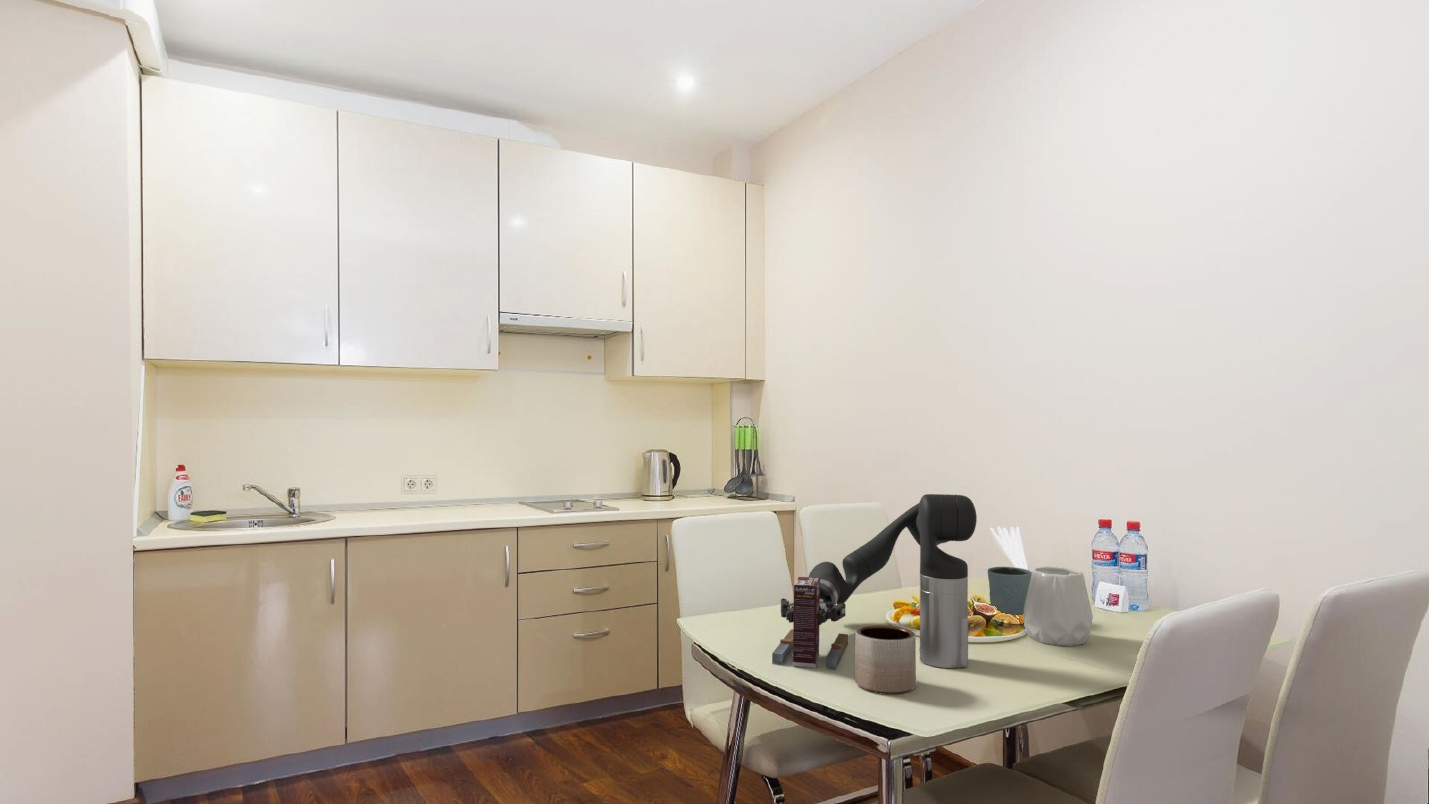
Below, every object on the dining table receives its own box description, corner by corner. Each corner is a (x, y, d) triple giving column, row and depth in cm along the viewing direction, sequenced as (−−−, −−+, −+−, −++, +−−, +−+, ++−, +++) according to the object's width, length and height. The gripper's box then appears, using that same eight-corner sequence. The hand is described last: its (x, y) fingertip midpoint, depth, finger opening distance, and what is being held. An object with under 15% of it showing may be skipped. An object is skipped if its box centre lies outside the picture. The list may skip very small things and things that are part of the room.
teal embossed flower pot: (1026, 616, 197) (1026, 567, 198) (1036, 626, 187) (1036, 575, 188) (983, 614, 199) (984, 566, 199) (992, 624, 189) (992, 573, 189)
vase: (1094, 636, 179) (1093, 568, 180) (1091, 652, 167) (1091, 579, 167) (1027, 628, 186) (1027, 563, 186) (1020, 643, 173) (1020, 573, 174)
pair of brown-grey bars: (848, 643, 172) (848, 631, 172) (835, 669, 153) (835, 656, 153) (790, 638, 175) (790, 626, 175) (772, 663, 157) (772, 650, 157)
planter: (926, 685, 145) (926, 632, 145) (897, 700, 137) (897, 644, 137) (874, 672, 152) (874, 621, 153) (843, 685, 144) (843, 632, 145)
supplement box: (816, 668, 154) (817, 586, 154) (791, 667, 155) (792, 584, 155) (820, 655, 162) (820, 577, 163) (796, 653, 163) (796, 576, 164)
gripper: (851, 619, 170) (841, 641, 154) (785, 614, 174) (768, 634, 158) (852, 584, 170) (841, 602, 154) (786, 580, 175) (768, 596, 158)
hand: (804, 618), depth 156 cm, fingers closed on supplement box, 5 cm apart
